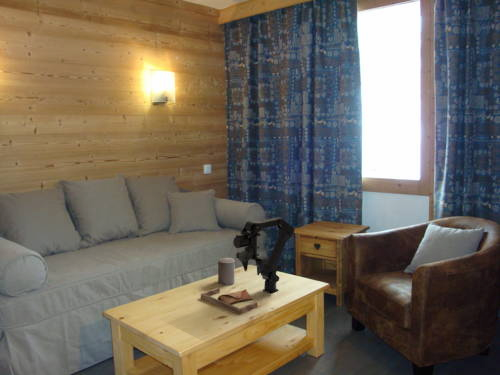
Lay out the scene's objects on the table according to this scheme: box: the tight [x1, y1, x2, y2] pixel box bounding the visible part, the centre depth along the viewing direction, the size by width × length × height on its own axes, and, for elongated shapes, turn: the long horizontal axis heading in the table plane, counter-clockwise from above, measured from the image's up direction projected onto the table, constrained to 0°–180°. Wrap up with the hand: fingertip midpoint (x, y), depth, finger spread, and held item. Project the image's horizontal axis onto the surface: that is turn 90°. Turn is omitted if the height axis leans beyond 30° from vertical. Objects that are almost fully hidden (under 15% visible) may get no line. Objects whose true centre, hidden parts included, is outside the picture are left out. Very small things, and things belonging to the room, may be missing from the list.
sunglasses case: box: [217, 289, 254, 305], centre depth 241 cm, size 18×7×7 cm, turn 124°
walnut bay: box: [200, 287, 258, 315], centre depth 238 cm, size 13×29×2 cm, turn 47°
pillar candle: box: [217, 257, 236, 286], centre depth 266 cm, size 10×10×15 cm
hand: (251, 273), depth 245 cm, fingers open, 9 cm apart
